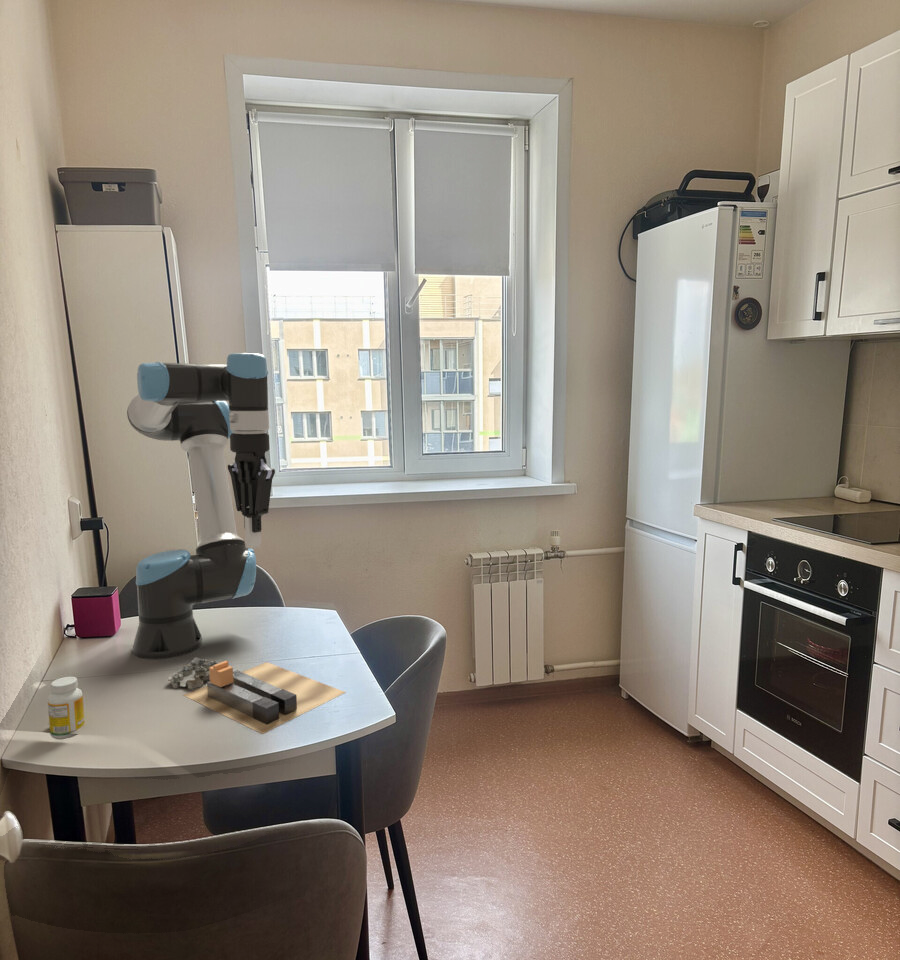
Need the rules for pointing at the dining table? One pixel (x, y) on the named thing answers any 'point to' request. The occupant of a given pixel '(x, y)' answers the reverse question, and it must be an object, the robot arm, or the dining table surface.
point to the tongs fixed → (245, 702)
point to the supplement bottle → (65, 708)
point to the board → (304, 688)
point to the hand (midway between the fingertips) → (253, 546)
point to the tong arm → (267, 691)
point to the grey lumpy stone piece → (200, 673)
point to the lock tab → (221, 674)
